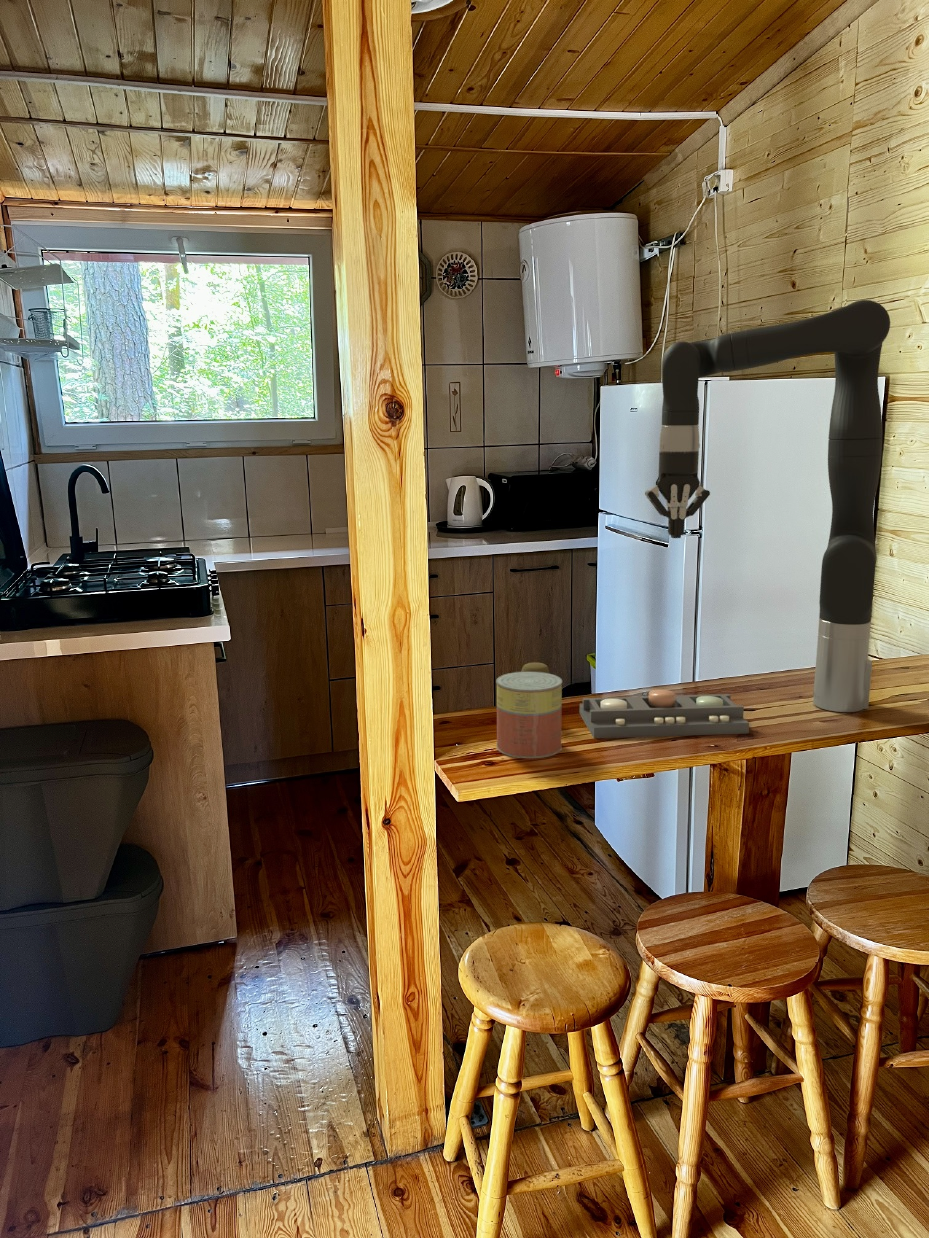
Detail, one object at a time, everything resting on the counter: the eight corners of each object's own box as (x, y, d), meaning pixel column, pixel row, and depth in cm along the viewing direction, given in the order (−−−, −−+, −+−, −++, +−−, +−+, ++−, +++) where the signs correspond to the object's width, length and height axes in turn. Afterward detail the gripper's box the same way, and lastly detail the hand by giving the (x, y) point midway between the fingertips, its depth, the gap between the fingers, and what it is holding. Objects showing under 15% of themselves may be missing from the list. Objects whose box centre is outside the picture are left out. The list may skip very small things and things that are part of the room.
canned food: (530, 731, 168) (531, 667, 166) (575, 748, 160) (576, 681, 157) (483, 745, 161) (482, 679, 159) (526, 763, 153) (526, 694, 150)
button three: (670, 699, 173) (671, 689, 173) (678, 707, 169) (678, 696, 168) (645, 700, 173) (646, 689, 173) (652, 707, 168) (652, 697, 168)
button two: (717, 705, 174) (718, 695, 174) (726, 713, 170) (726, 703, 169) (692, 706, 174) (693, 696, 174) (700, 714, 169) (701, 704, 169)
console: (722, 709, 179) (723, 689, 179) (748, 733, 166) (749, 712, 165) (579, 713, 178) (579, 693, 177) (593, 738, 164) (594, 716, 163)
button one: (623, 708, 173) (623, 698, 173) (629, 716, 169) (629, 706, 168) (597, 709, 173) (598, 699, 172) (603, 717, 168) (603, 706, 168)
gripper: (706, 448, 184) (702, 534, 188) (640, 449, 183) (638, 536, 187) (718, 449, 177) (714, 539, 180) (650, 450, 176) (647, 541, 180)
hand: (675, 537), depth 184 cm, fingers closed
